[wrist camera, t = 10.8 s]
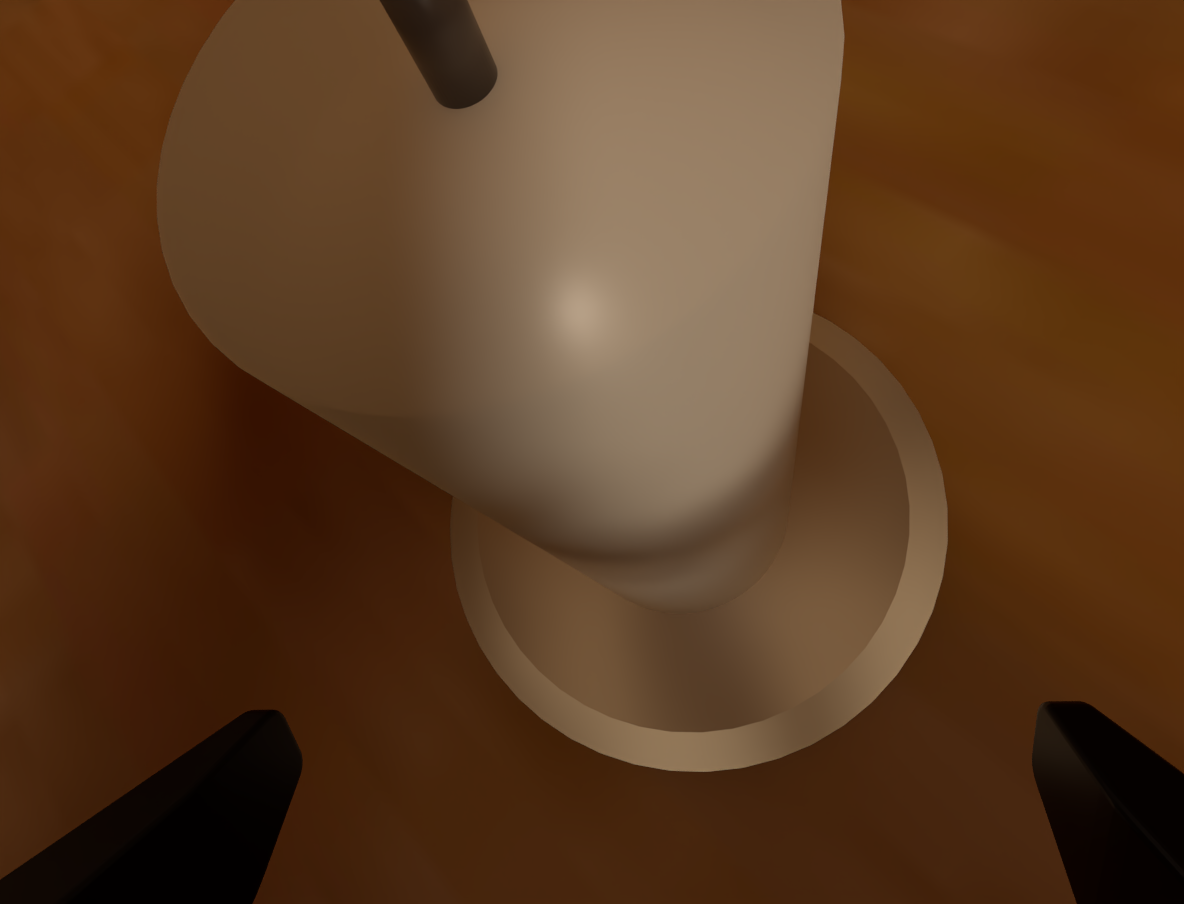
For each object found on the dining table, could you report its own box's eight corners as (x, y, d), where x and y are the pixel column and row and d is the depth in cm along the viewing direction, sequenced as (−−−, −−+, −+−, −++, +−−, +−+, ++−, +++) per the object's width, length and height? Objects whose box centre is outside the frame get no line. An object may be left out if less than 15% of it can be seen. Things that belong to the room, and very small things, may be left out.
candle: (688, 661, 16) (348, 566, 3) (532, 516, 18) (-83, 78, 5) (835, 490, 16) (1093, -246, 3) (667, 366, 18) (426, -402, 5)
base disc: (588, 848, 17) (563, 870, 15) (425, 447, 22) (388, 421, 20) (1034, 621, 17) (1073, 611, 15) (769, 255, 21) (770, 208, 19)
